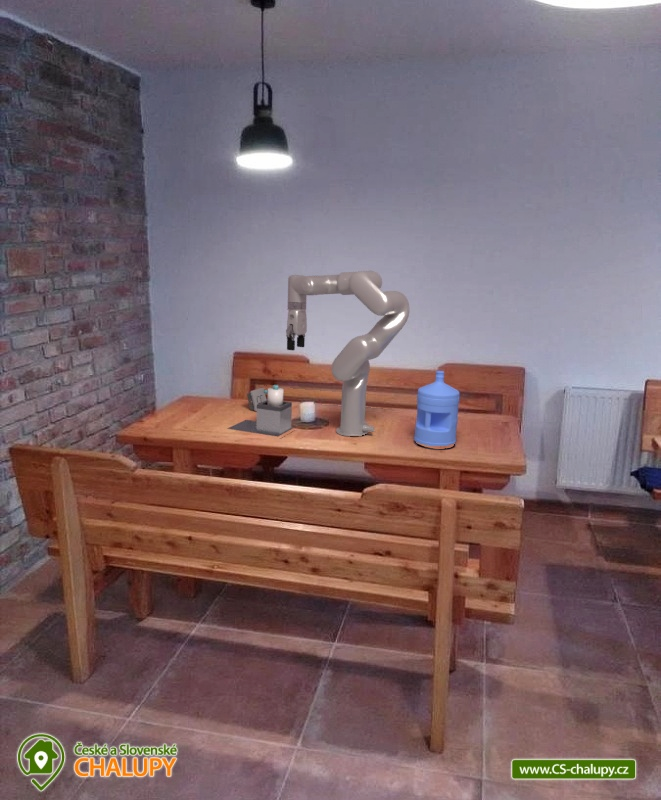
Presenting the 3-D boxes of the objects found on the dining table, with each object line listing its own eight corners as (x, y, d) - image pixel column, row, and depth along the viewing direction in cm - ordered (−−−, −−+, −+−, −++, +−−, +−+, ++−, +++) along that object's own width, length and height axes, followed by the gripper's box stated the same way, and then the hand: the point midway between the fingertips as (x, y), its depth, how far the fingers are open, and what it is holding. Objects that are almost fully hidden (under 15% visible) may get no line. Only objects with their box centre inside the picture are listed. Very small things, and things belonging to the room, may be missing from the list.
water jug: (427, 435, 257) (432, 366, 251) (463, 444, 248) (469, 372, 241) (405, 443, 246) (410, 371, 239) (442, 453, 236) (448, 377, 229)
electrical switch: (256, 412, 283) (255, 391, 281) (246, 411, 285) (245, 390, 284) (268, 408, 291) (267, 387, 289) (258, 407, 293) (257, 387, 292)
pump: (285, 406, 252) (286, 384, 250) (279, 409, 247) (280, 387, 244) (266, 403, 254) (267, 382, 252) (260, 407, 249) (261, 385, 247)
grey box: (296, 429, 259) (297, 400, 256) (278, 440, 244) (278, 409, 241) (247, 422, 266) (248, 393, 264) (227, 432, 252) (227, 402, 249)
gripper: (296, 308, 252) (295, 352, 256) (313, 305, 268) (312, 346, 272) (279, 307, 255) (278, 350, 259) (297, 304, 271) (296, 344, 275)
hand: (295, 348), depth 265 cm, fingers open, 9 cm apart
